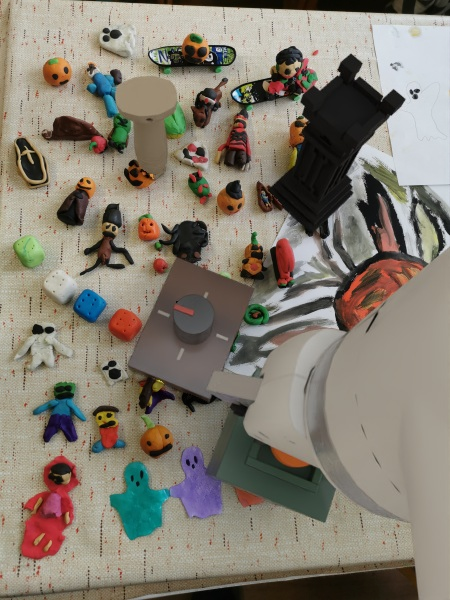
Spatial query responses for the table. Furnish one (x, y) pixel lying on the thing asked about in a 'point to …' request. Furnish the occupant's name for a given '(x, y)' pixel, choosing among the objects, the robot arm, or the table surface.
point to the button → (287, 459)
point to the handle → (148, 118)
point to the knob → (193, 319)
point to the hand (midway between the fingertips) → (307, 438)
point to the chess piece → (332, 143)
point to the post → (268, 472)
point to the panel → (177, 354)
